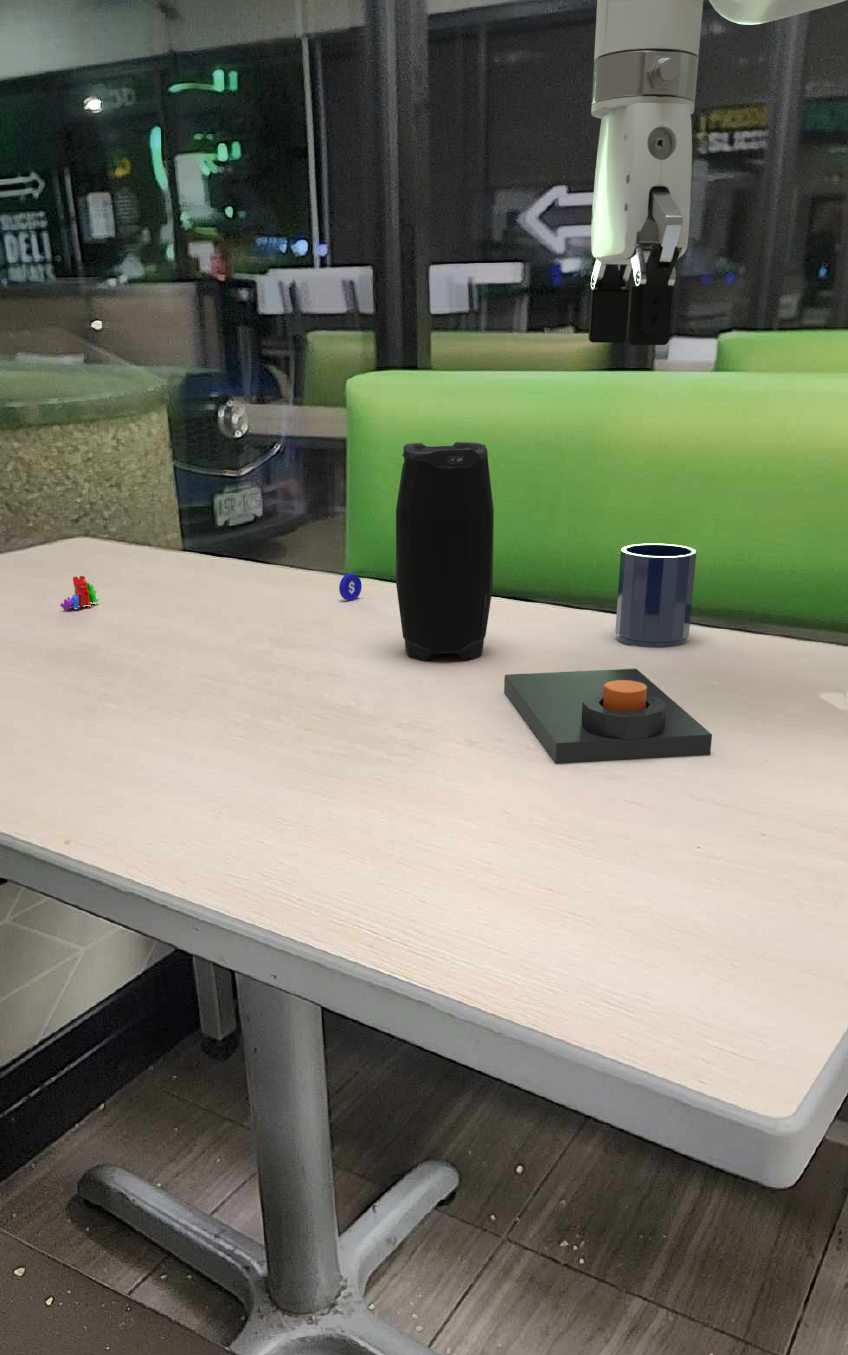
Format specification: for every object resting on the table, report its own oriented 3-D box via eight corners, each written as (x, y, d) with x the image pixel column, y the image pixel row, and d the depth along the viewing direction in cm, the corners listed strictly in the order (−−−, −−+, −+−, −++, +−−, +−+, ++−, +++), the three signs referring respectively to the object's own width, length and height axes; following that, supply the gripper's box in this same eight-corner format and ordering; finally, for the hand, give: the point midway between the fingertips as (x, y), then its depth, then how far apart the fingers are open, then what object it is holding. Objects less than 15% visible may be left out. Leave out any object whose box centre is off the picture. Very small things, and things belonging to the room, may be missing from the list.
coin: (343, 602, 134) (343, 576, 133) (339, 601, 134) (338, 575, 133) (361, 598, 136) (361, 572, 135) (357, 597, 136) (357, 571, 135)
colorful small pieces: (65, 613, 129) (61, 581, 128) (55, 608, 131) (51, 577, 130) (106, 606, 132) (102, 575, 131) (95, 602, 134) (92, 572, 133)
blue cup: (673, 628, 122) (681, 542, 118) (699, 646, 115) (707, 556, 112) (606, 631, 121) (611, 544, 117) (628, 649, 114) (634, 558, 111)
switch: (637, 700, 89) (639, 679, 88) (651, 713, 86) (653, 691, 85) (597, 702, 88) (599, 681, 88) (609, 715, 85) (611, 693, 85)
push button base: (635, 686, 103) (637, 648, 101) (710, 756, 86) (715, 711, 85) (504, 693, 101) (504, 654, 100) (555, 764, 85) (557, 720, 83)
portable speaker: (380, 652, 114) (376, 445, 106) (451, 637, 119) (452, 438, 111) (437, 670, 108) (437, 452, 100) (509, 653, 113) (514, 445, 105)
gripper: (740, 69, 77) (713, 346, 84) (652, 111, 93) (635, 341, 100) (633, 65, 76) (615, 346, 83) (562, 108, 91) (552, 341, 98)
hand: (626, 343), depth 91 cm, fingers open, 9 cm apart
